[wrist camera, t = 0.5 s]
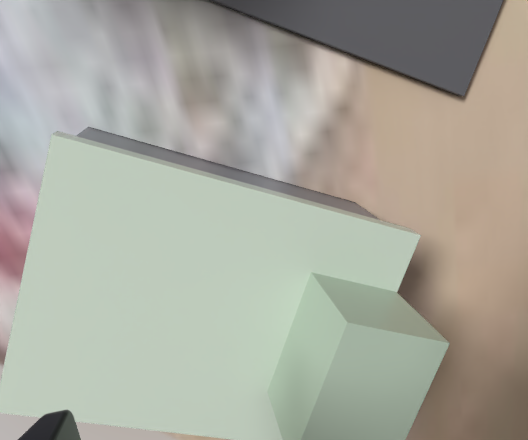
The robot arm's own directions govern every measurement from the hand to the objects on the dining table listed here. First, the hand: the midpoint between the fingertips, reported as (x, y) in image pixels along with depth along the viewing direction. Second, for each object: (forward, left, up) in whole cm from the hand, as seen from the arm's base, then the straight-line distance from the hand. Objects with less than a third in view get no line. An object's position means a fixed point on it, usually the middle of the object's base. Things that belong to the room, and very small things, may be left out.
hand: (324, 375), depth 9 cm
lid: (0, +3, -9) cm, 9 cm away
